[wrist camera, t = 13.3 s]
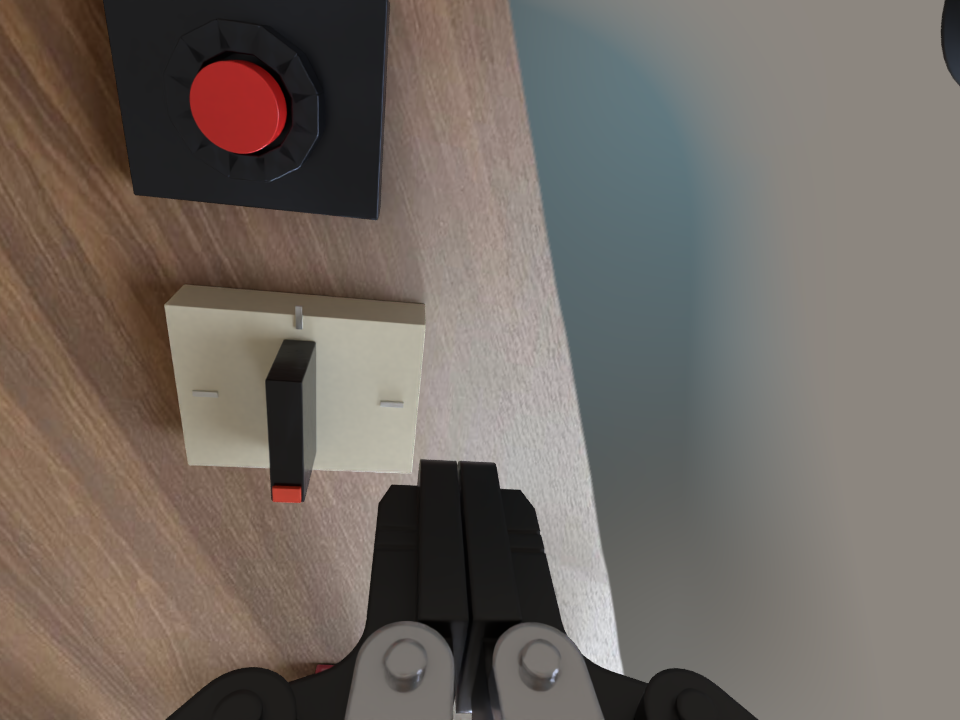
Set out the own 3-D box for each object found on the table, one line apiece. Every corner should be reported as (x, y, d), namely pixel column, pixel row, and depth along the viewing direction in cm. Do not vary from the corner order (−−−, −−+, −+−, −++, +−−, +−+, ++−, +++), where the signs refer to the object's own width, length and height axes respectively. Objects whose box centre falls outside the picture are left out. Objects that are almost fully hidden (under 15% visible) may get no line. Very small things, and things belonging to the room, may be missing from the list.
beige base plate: (426, 295, 34) (426, 316, 32) (411, 452, 40) (410, 482, 37) (182, 274, 32) (161, 295, 29) (204, 443, 38) (188, 474, 35)
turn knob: (283, 338, 31) (263, 382, 27) (316, 340, 32) (301, 385, 28) (287, 451, 35) (270, 504, 31) (316, 452, 36) (303, 505, 31)
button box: (390, 1, 27) (386, -5, 23) (380, 209, 32) (375, 230, 28) (118, -42, 25) (70, -57, 22) (151, 185, 30) (116, 204, 26)
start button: (286, 66, 25) (277, 67, 23) (288, 152, 26) (280, 158, 25) (198, 53, 24) (184, 54, 22) (207, 142, 26) (194, 148, 24)
